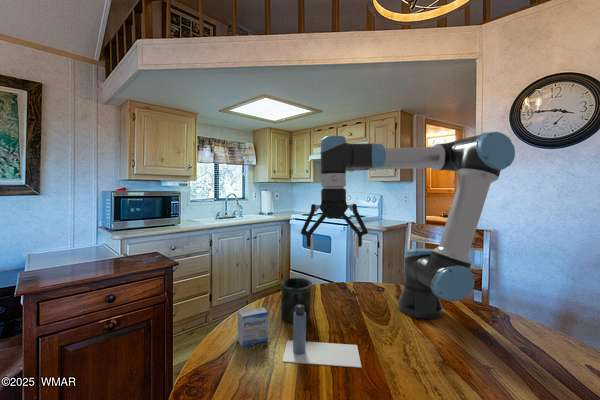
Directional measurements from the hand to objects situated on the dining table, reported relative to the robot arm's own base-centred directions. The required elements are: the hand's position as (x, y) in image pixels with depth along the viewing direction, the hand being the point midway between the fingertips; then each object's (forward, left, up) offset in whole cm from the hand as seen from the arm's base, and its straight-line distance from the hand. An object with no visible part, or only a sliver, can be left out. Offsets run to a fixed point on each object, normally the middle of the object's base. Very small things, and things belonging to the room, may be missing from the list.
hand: (334, 257), depth 87 cm
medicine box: (+23, +8, -24) cm, 34 cm away
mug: (+12, -7, -24) cm, 28 cm away
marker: (+9, +12, -23) cm, 28 cm away
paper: (+3, +12, -24) cm, 26 cm away
